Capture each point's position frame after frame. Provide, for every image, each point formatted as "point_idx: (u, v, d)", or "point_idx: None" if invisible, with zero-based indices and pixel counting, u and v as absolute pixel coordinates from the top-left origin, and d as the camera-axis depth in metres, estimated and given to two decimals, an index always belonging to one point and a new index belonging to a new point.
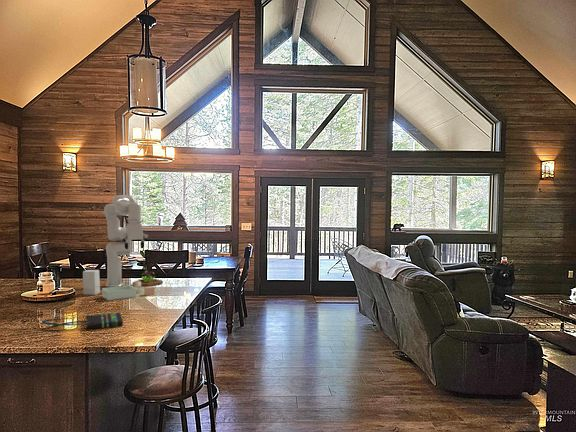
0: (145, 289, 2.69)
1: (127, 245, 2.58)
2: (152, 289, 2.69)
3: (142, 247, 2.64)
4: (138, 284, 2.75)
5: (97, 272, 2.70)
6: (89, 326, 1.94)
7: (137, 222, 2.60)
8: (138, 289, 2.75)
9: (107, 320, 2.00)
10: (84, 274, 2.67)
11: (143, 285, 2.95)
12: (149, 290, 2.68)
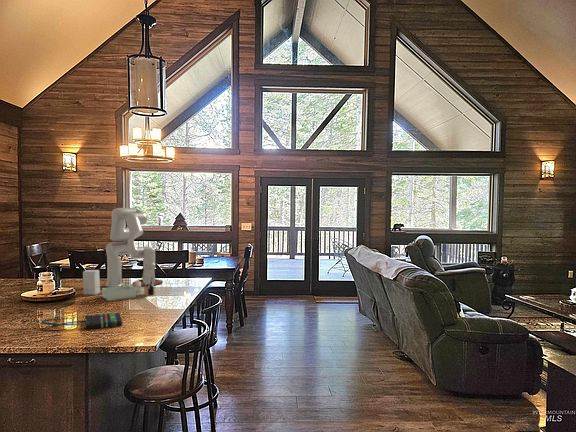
0: (145, 289, 2.69)
1: None
2: None
3: None
4: (138, 284, 2.75)
5: (97, 272, 2.70)
6: (88, 326, 1.94)
7: None
8: (138, 289, 2.75)
9: (106, 320, 2.00)
10: (84, 274, 2.67)
11: (143, 285, 2.95)
12: None
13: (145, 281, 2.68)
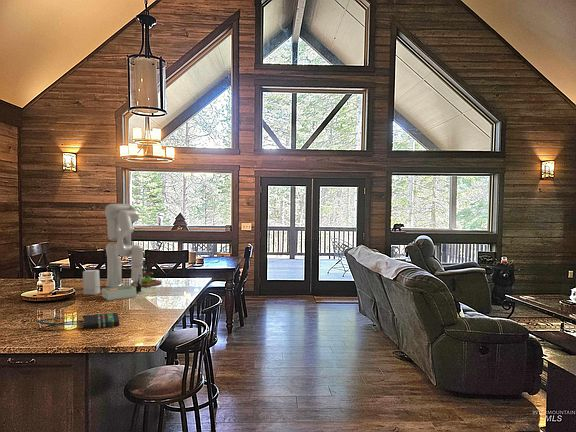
0: None
1: (140, 287, 2.76)
2: None
3: None
4: None
5: (97, 272, 2.70)
6: (86, 326, 1.94)
7: None
8: None
9: (104, 320, 2.00)
10: (84, 274, 2.67)
11: (141, 286, 2.93)
12: None
13: (133, 279, 2.75)
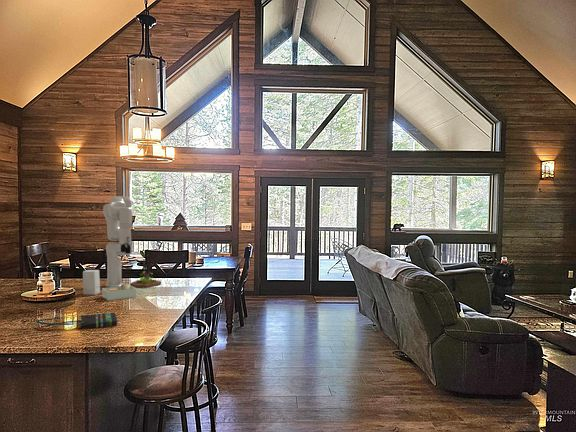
0: None
1: (130, 249, 2.61)
2: None
3: None
4: (126, 287, 2.63)
5: (97, 272, 2.70)
6: (83, 326, 1.94)
7: None
8: None
9: (101, 320, 2.01)
10: (84, 274, 2.67)
11: (141, 286, 2.92)
12: None
13: (121, 241, 2.61)
